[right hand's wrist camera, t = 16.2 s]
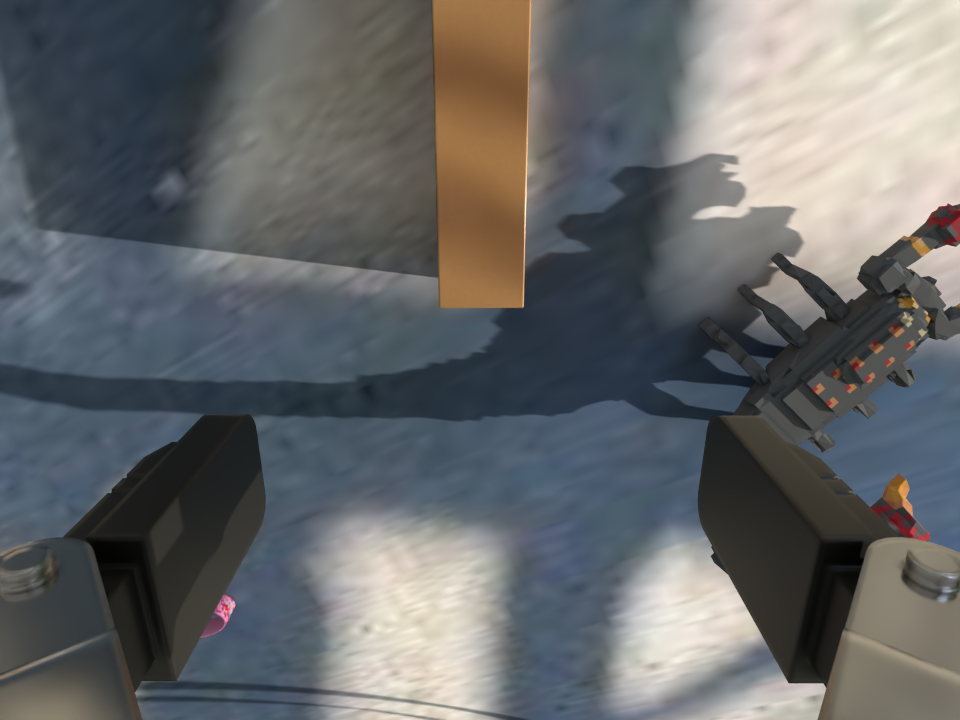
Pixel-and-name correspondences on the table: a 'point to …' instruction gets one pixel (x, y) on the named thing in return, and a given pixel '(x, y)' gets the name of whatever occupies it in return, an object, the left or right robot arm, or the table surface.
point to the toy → (850, 350)
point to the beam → (481, 149)
